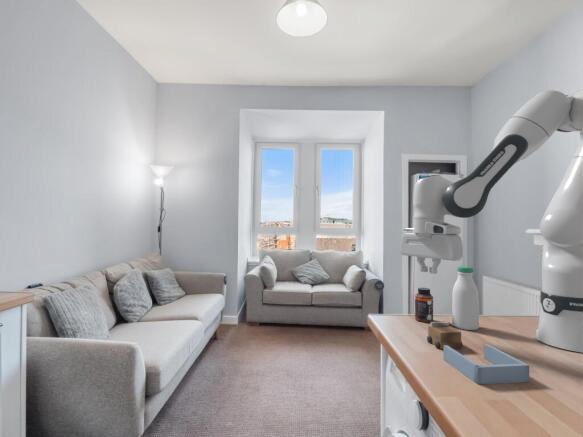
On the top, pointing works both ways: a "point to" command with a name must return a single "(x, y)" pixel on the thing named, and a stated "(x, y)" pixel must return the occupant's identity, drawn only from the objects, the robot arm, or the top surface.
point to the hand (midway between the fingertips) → (428, 272)
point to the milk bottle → (465, 300)
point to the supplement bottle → (424, 305)
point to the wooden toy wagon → (444, 335)
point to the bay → (489, 366)
